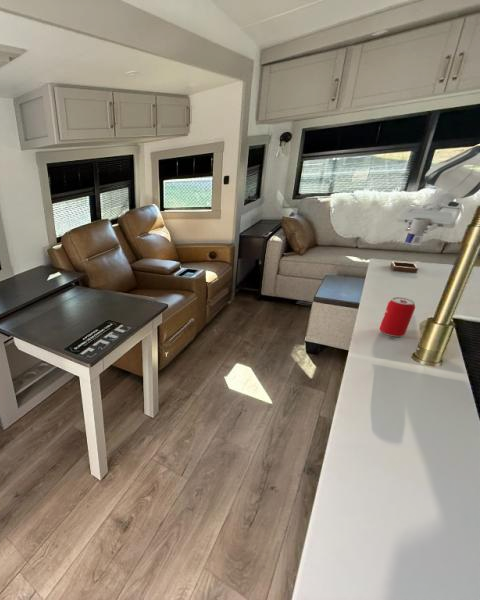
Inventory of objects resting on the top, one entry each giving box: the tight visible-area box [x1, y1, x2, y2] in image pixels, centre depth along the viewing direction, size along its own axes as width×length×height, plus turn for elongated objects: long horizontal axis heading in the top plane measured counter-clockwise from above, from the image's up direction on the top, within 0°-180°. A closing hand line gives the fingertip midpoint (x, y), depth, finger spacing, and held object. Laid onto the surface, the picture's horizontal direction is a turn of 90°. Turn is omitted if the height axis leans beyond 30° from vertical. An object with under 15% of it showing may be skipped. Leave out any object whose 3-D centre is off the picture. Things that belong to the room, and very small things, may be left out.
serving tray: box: [390, 261, 419, 274], centre depth 152 cm, size 8×8×2 cm
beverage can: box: [379, 296, 416, 338], centre depth 103 cm, size 6×6×12 cm
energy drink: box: [404, 218, 429, 247], centre depth 145 cm, size 5×5×12 cm
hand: (416, 231), depth 144 cm, fingers closed on energy drink, 5 cm apart
